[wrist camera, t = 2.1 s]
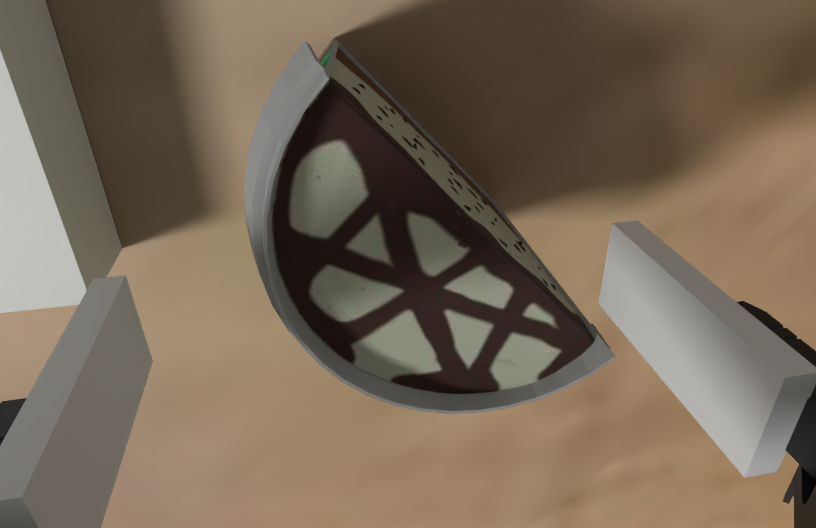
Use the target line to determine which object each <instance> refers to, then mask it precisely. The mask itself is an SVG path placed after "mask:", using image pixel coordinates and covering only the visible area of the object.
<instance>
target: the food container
mask: <svg viewBox="0 0 816 528" xmlns="http://www.w3.org/2000/svg"><path fill="white" fill-rule="evenodd" d="M244 186H245V214H246V223H247V228H248V233H249V237H250V242H251V247H252V251H253V255H254V258H255V261H256V264H257V267H258V270H259V273H260V276H261V279H262V281H263V284H264V286H265V288H266V291H267V293H268V296H269V298H270V301H271V303H272V305H273V307H274V309H275V310H276V312H277V313H278V315H279V317H280V318H281V320H282V321H283V323H284V324H285V326H286V328H287V329H288V331H289V332H290V333H291V334H292V335H293V336H294V338H295V339H296V340H297V341H298V342H299V343H300V344H301V345H302V346H303V347H304V349H305V350H306V351H307V352H308V353H309V354H310V355H311V356H312V357H313V358H314V359H315V360H316V361H317V362H318V363H319V364H320V365H321V366H322V367H324V368H325V369H326V370H328V371H329V372H330V373H331V374H333V375H334V376H335V377H337V378H338V379H339V380H341V381H342V382H344V383H345V384H347V385H349V386H351V387H353V388H355V389H356V390H358V391H360V392H362V393H364V394H365V395H367V396H370V397H373V398H376V399H378V400H381V401H384V402H386V403H389V404H392V405H395V406H400V407H404V408H409V409H414V410H418V411H424V412H436V413H449V414H455V413H478V412H486V411H492V410H498V409H504V408H510V407H514V406H517V405H521V404H524V403H528V402H531V401H535V400H538V399H541V398H543V397H546V396H548V395H551V394H553V393H555V392H558V391H560V390H563V389H565V388H567V387H569V386H571V385H573V384H575V383H576V382H578V381H580V380H582V379H584V378H586V377H587V376H589V375H591V374H593V373H594V372H596V371H597V370H599V369H600V368H602V367H603V366H605V365H606V364H608V363H609V362H611V361H612V360H613V359H615V358H616V357H615V355H614V354H613V353H612V351H611V350H610V347H609V346H608V344H607V343H606V342H605V340H604V339H603V337H602V336H601V334H600V333H599V332H598V330H597V329H596V327H595V326H594V325H593V324H590V323H589V322H588V320H587V319H586V318H585V316H584V315H583V314H582V313H581V311H580V310H579V309H578V307H577V306H576V305H575V304H574V302H573V301H572V300H571V298H570V297H569V296H568V295H567V293H566V292H565V291H564V289H563V288H562V287H561V286H560V284H559V283H558V282H557V280H556V279H555V278H554V277H553V275H552V274H551V273H550V271H549V270H548V269H547V268H546V266H545V265H544V264H543V262H542V261H541V260H540V259H539V257H538V256H537V255H536V254H535V252H534V251H533V250H532V248H531V247H530V246H529V245H528V243H527V242H526V241H525V239H524V238H523V237H522V236H521V234H520V233H519V232H518V230H517V229H516V228H515V227H514V225H513V224H512V223H511V221H510V220H509V219H508V218H507V216H506V215H505V214H504V212H503V211H502V210H501V209H500V207H499V206H498V205H497V203H496V202H495V201H494V200H493V199H492V198H491V197H490V196H489V195H488V194H487V193H486V192H485V191H484V190H483V189H482V188H481V187H480V186H479V184H478V183H477V182H476V181H475V180H474V179H473V178H472V177H471V176H470V175H469V174H468V173H467V172H466V171H465V170H464V169H463V168H462V167H461V166H460V165H459V164H458V163H457V162H456V161H455V160H454V159H453V158H452V157H451V156H450V155H449V154H448V153H447V152H446V151H445V150H444V149H443V148H442V147H441V146H440V145H439V144H438V143H437V142H436V141H435V140H434V139H433V137H432V136H431V135H430V134H429V133H428V132H427V131H426V130H425V129H424V128H423V127H422V126H421V125H420V124H419V123H418V122H417V121H416V120H415V119H414V118H413V117H412V116H411V115H410V114H409V113H408V112H407V111H406V110H405V109H404V108H403V107H402V106H401V105H400V104H399V103H398V102H397V101H396V100H395V99H394V98H393V97H392V96H391V95H390V94H389V93H388V92H387V91H386V89H385V88H384V87H383V86H382V85H381V84H380V83H379V82H378V81H377V80H376V79H375V78H374V77H373V76H372V75H371V74H370V73H369V72H368V71H367V70H366V69H365V68H364V67H363V66H362V65H361V64H360V63H359V62H358V61H357V60H356V59H355V58H354V57H353V56H352V55H351V54H350V53H349V52H348V51H347V50H346V49H345V48H344V47H343V46H342V45H341V44H340V42H339V41H338V40H337V39H336V38H334V39H333V40H332V42H331V43H330V44H329V46H328V47H327V48H326V50H325V51H324V52H323V54H322V55H321V56H320V58H319V59H317V57H316V55H315V53H314V51H313V50H312V48H311V46H310V45H309V44H308V43H307V42H306V41H304V42H303V43H302V45H301V46H300V47H299V49H298V50H297V52H296V53H295V54H294V56H293V57H292V58H291V60H290V61H289V62H288V64H287V65H286V66H285V68H284V69H283V70H282V72H281V73H280V75H279V77H278V79H277V81H276V83H275V85H274V87H273V89H272V91H271V93H270V94H269V96H268V98H267V100H266V102H265V104H264V106H263V108H262V110H261V113H260V116H259V119H258V123H257V126H256V129H255V132H254V135H253V138H252V141H251V144H250V148H249V155H248V162H247V169H246V176H245V184H244Z"/></svg>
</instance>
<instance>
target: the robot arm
mask: <svg viewBox="0 0 816 528" xmlns="http://www.w3.org/2000/svg"><path fill="white" fill-rule="evenodd" d="M598 304H599V305H600V306H601V307H602V309H603V310H604V311H605V312H606V313H607V315H608V316H609V317H610V318H611V319H612V320H613V322H614V323H615V324H616V325H617V326H618V328H619V329H620V330H621V331H622V332H623V334H624V335H625V336H626V337H627V338H628V340H629V341H630V342H631V343H632V344H633V345H634V347H635V348H636V349H637V350H638V351H639V353H640V354H641V355H642V356H643V357H644V359H645V360H646V361H647V362H648V363H649V365H650V366H651V367H652V368H653V369H654V370H655V372H656V373H657V374H658V375H659V376H660V378H661V379H662V380H663V381H664V382H665V384H666V385H667V386H668V387H669V388H670V390H671V391H672V392H673V393H674V394H675V395H676V397H677V398H678V399H679V400H680V401H681V403H682V404H683V405H684V406H685V407H686V409H687V410H688V411H689V412H690V413H691V415H692V416H693V417H694V418H695V419H696V420H697V422H698V423H699V424H700V425H701V426H702V428H703V429H704V430H705V431H706V432H707V434H708V435H709V436H710V437H711V438H712V440H713V441H714V442H715V443H716V444H717V445H718V447H719V448H720V449H721V450H722V451H723V453H724V454H725V455H726V456H727V457H728V459H729V460H730V461H731V462H732V463H733V465H734V466H735V467H736V468H737V469H738V470H739V472H740V473H741V474H742V475H743V476H744V478H746V477H752V476H757V475H763V474H768V473H774V472H777V471H778V469H779V467H780V464H781V462H782V460H783V457H784V455H785V453H786V451H787V452H788V453H789V454H790V455H791V456H792V457H793V458H794V459H795V460H796V461H797V462H798V463H799V466H798V468H797V470H796V472H795V475H794V477H793V479H792V481H791V483H790V485H789V487H788V490H787V492H786V494H785V497H784V499H783V502H786V503H788V504H789V502H790V500H791V498H792V496H794V528H816V351H815V350H814V349H812V348H811V347H810V346H808V345H807V344H806V343H805V342H803V341H802V340H801V339H797V336H796V335H795V334H793V333H792V332H791V331H790V330H788V329H787V328H783V325H782V324H781V323H779V322H778V321H777V320H776V319H774V318H773V317H772V316H771V315H769V314H768V313H767V312H765V311H763V310H761V309H759V308H757V307H755V306H753V305H751V304H749V303H747V302H744V301H740V302H736V301H735V300H733V299H732V298H731V297H730V296H728V295H727V294H726V293H725V292H724V291H722V290H721V289H720V288H719V287H717V286H716V285H715V284H714V283H713V282H711V281H710V280H709V279H708V278H707V277H705V276H704V275H703V274H702V273H700V272H699V271H698V270H697V269H696V268H694V267H693V266H692V265H691V264H690V263H688V262H687V261H686V260H685V259H683V258H682V257H681V256H680V255H679V254H677V253H676V252H675V251H674V250H672V249H671V248H670V247H669V246H668V245H666V244H665V243H664V242H663V241H662V240H660V239H659V238H658V237H657V236H655V235H654V234H653V233H652V232H651V231H649V230H648V229H647V228H646V227H644V226H643V225H642V224H641V223H640V222H638V221H629V222H619V223H612V228H611V234H610V239H609V245H608V251H607V257H606V262H605V268H604V274H603V280H602V285H601V291H600V297H599V303H598ZM152 362H153V360H152V357H151V354H150V351H149V348H148V345H147V341H146V338H145V335H144V332H143V329H142V326H141V322H140V319H139V316H138V313H137V310H136V307H135V304H134V300H133V297H132V294H131V291H130V288H129V285H128V282H127V278H126V276H117V277H108V278H99V279H93V280H92V282H91V284H90V286H89V288H88V289H87V291H86V293H85V295H84V296H83V298H82V300H81V302H80V304H79V305H78V307H77V309H76V311H75V313H74V314H73V316H72V318H71V320H70V322H69V323H68V325H67V327H66V329H65V331H64V332H63V334H62V336H61V338H60V340H59V341H58V343H57V345H56V347H55V348H54V350H53V352H52V354H51V356H50V357H49V359H48V361H47V363H46V365H45V366H44V368H43V370H42V372H41V374H40V375H39V377H38V379H37V381H36V383H35V384H34V386H33V388H32V390H31V392H30V393H29V395H28V397H27V398H24V399H17V400H9V401H3V402H2V403H0V528H101V525H102V522H103V519H104V515H105V512H106V509H107V506H108V503H109V499H110V496H111V493H112V490H113V487H114V483H115V480H116V477H117V474H118V471H119V467H120V464H121V461H122V458H123V455H124V451H125V448H126V445H127V442H128V439H129V435H130V432H131V429H132V426H133V423H134V419H135V416H136V413H137V410H138V407H139V403H140V400H141V397H142V394H143V391H144V387H145V384H146V381H147V378H148V375H149V371H150V368H151V365H152Z"/></svg>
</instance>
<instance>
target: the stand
mask: <svg viewBox="0 0 816 528" xmlns="http://www.w3.org/2000/svg"><path fill="white" fill-rule="evenodd" d="M121 250H122V246H121V243H120V240H119V236H118V233H117V230H116V227H115V223H114V220H113V217H112V214H111V210H110V207H109V204H108V201H107V198H106V194H105V191H104V188H103V185H102V181H101V178H100V175H99V172H98V168H97V165H96V162H95V159H94V155H93V152H92V149H91V146H90V142H89V139H88V136H87V133H86V130H85V126H84V123H83V120H82V117H81V113H80V110H79V107H78V104H77V100H76V97H75V94H74V91H73V87H72V84H71V81H70V78H69V75H68V71H67V68H66V65H65V62H64V58H63V55H62V52H61V49H60V45H59V42H58V39H57V36H56V32H55V29H54V26H53V23H52V20H51V16H50V13H49V10H48V7H47V3H46V0H0V313H4V312H14V311H23V310H33V309H42V308H52V307H61V306H71V305H79V304H80V302H81V300H82V298H83V296H84V295H85V293H86V291H87V289H88V288H89V286H90V284H91V282H92V280H93V279H99V278H106V277H107V275H108V273H109V271H110V270H111V268H112V266H113V264H114V263H115V261H116V259H117V257H118V256H119V254H120V252H121Z"/></svg>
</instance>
